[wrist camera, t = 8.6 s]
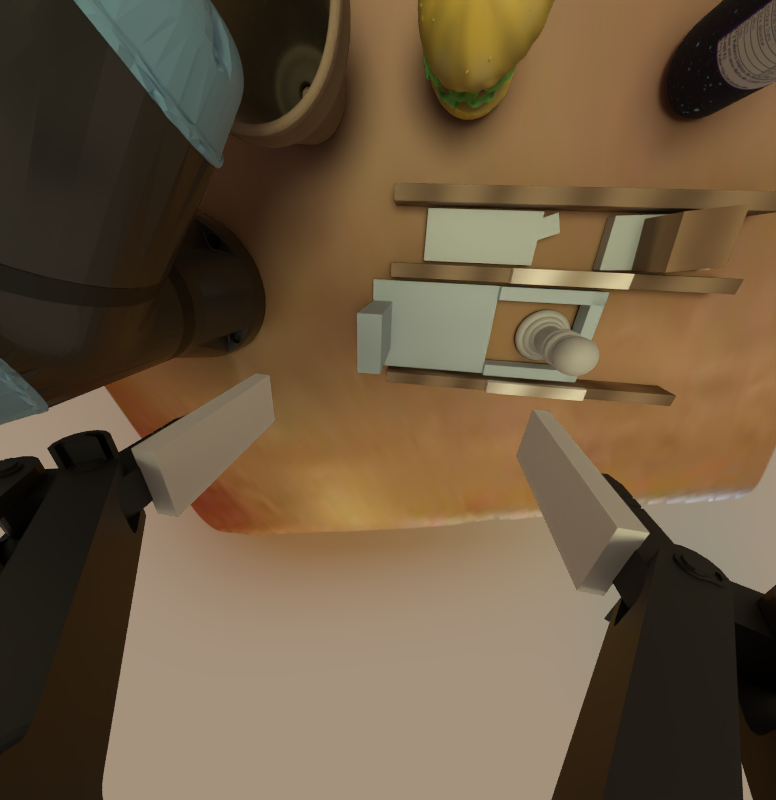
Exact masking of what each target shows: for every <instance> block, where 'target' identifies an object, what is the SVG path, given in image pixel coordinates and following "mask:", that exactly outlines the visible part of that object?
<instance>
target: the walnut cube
mask: <svg viewBox="0 0 776 800" xmlns="http://www.w3.org/2000/svg"><path fill="white" fill-rule="evenodd" d="M749 206H750V204H743V205H734V206H726V207H717V208H709V209H701V210H692V211H684V212H679V213H673V214H668V215H663V216H657V217H652V218H647V219H645V221H644V224H643V228H642V232H641V236H640V239H639V243H638V247H637V251H636V254H635V258H634V262H633V266H632V269H631V271H644V272H663V273H666V272H677V271H688V270H699V269H710V268H722V267H725V266H726V264H727V261H728V259H729V256H730V254H731V251H732V249H733V246H734V244H735V241H736V239H737V236H738V234H739V231H740V229H741V226H742V224H743V221H744V219H745V216H746V214H747V211H748V209H749Z"/></svg>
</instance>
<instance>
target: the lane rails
mask: <svg viewBox="0 0 776 800" xmlns="http://www.w3.org/2000/svg"><path fill="white" fill-rule="evenodd" d="M394 201H395V203H396V205H402V206H435V207H469V208H503V209H537V210H570V211H604V212H638V213H671V214H673V213H679V212H684V211H692V210H701V209H709V208H717V207H726V206H734V205H743V204H750V206H749V209H748V211H747V214H746V216H752V215H759V214H766V213H774V212H776V191H736V190H692V189H647V188H603V187H559V186H514V185H470V184H426V183H395V191H394ZM391 276H392V277H411V278H430V279H449V280H468V281H487V282H506V283H513V284H532V285H551V286H570V287H590V288H609V289H640V290H659V291H678V292H697V293H716V294H735V293H736V292H737V290H738V288H739V287H740V285H741V283H742V281H743V280H744V279H729V278H712V277H691V276H670V275H649V274H628V273H607V272H586V271H565V270H544V269H523V268H502V267H481V266H461V265H440V264H419V263H398V262H392V263H391ZM386 382H396V383H408V384H419V385H431V386H443V387H454V388H466V389H477V390H485V392H486V393H496V394H508V395H519V396H531V397H542V398H554V399H565V400H577V401H583V399H594V400H606V401H617V402H629V403H640V404H652V405H664V406H670V405H671V404H672V402H673V400H674V398H675V397H676V396H675V395H674V394H672V393H670V392H668V391H666V390H664V389H662V388H661V387H659V386H652V385H640V384H627V383H615V382H602V381H590V380H577V379H576V381H575V382H562V381H550V380H538V379H525V378H513V377H501V376H488V375H483V374H482V373H475V372H463V371H450V370H438V369H425V368H413V367H401V366H389V367H388V370H387V380H386Z"/></svg>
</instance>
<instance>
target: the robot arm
mask: <svg viewBox="0 0 776 800" xmlns="http://www.w3.org/2000/svg"><path fill="white" fill-rule="evenodd" d="M243 88H244V77H243V69H242V64H241V60H240V56H239V53H238V50H237V47H236V45H235V42H234V40H233V38H232V36H231V34H230V32H229V30H228V28H227V26H226V24H225V23H224V21H223V19H222V18H221V16H220V14H219V13H218V11H217V10H216V8H215V7H214V5H213V4H212V2H211V1H210V0H0V425H1V424H4V423H7V422H11V421H14V420H18V419H21V418H24V417H28V416H31V415H34V414H40V413H43V412H46V411H48V410H49V409H48V408H50V407H52V406H55V405H57V404H60V403H62V402H65V401H67V400H70V399H72V398H75V397H77V396H80V395H82V394H85V393H87V392H90V391H92V390H95V389H97V388H100V387H102V386H105V385H107V384H110V383H112V382H115V381H118V380H120V379H123V378H125V377H128V376H130V375H133V374H135V373H138V372H140V371H143V370H145V369H148V368H150V367H153V366H155V365H158V364H160V363H162V362H165V361H167V360H170V359H173V358H192V357H218V356H223V355H227V354H229V353H232V352H234V351H236V350H238V349H240V348H242V347H244V346H245V345H247V344H248V343H249V342H251V341H252V340H253V338H254V337H255V336H256V334H257V333H258V331H259V329H260V327H261V325H262V322H263V318H264V312H265V296H264V289H263V285H262V281H261V278H260V275H259V272H258V270H257V267H256V265H255V263H254V261H253V259H252V258H251V256H250V254H249V253H248V251H247V250H246V248H245V247H244V246H243V244H242V243H241V242H240V241H239V240H238V238H237V237H236V236H235V235H234V234H233V233H232V232H231V231H230V230H228V229H227V228H226V227H225V226H224V225H222V224H221V223H219V222H218V221H216V220H215V219H213V218H211V217H209V216H207V215H205V214H203V213H200V212H197V211H196V210H197V208H198V206H199V204H200V201H201V199H202V197H203V195H204V192H205V190H206V188H207V186H208V183H209V181H210V179H211V177H212V175H213V172H214V170H215V168H221V166H222V165H223V162H224V159H223V155H222V152H223V149H224V147H225V144H226V141H227V138H228V136H229V133H230V130H231V127H232V125H233V122H234V119H235V116H236V114H237V111H238V108H239V105H240V103H241V99H242V95H243ZM274 422H275V416H274V408H273V400H272V392H271V384H270V376H269V375H264V374H256V373H255V374H254V375H252V376H250V377H249V378H247V379H245V380H244V381H242V382H240V383H239V384H237V385H236V386H234V387H232V388H231V389H229V390H227V391H226V392H224V393H222V394H221V395H219V396H217V397H216V398H214V399H212V400H211V401H209V402H207V403H206V404H204V405H202V406H201V407H199V408H197V409H196V410H194V411H192V412H191V413H189V414H187V415H185V416H182V417H180V418H177V419H174V420H173V421H171V422H169V423H168V424H166V425H164V426H163V428H159V429H158V430H156V431H154V433H153V434H152V433H151V434H149V435H147V436H146V437H144V438H142V439H141V440H139V441H137V442H136V443H134V444H132V445H131V446H129V447H127V448H125V449H124V450H122V451H120V452H118V450H117V448H116V445H115V443H114V441H113V439H112V436H111V434H110V433H109V432H107V431H102V430H94V431H85V432H81V433H77V434H73V435H70V436H67V437H65V438H62V439H60V440H58V441H56V442H55V443H53V444H52V445H51V446H49V447H48V450H49V452H50V454H51V456H52V457H53V459H54V461H55V463H56V464H57V466H58V468H57V469H45V468H44V467H43V465H42V464H41V462H40V460H39V459H38V458H36V457H33V456H23V457H17V458H9V459H5V460H4V461H3V460H1V461H0V527H1V528H2V529H3V531H4V532H5V534H4V535H3V536H2V537H1V538H0V800H103V797H102V781H103V773H104V767H105V760H106V754H107V749H108V742H109V736H110V730H111V724H112V717H113V712H114V706H115V700H116V694H117V688H118V682H119V676H120V670H121V664H122V658H123V651H124V645H125V640H126V633H127V628H128V621H129V616H130V610H131V604H132V598H133V591H134V586H135V580H136V573H137V567H138V562H139V556H140V549H141V543H142V537H143V531H144V525H145V519H146V514H145V511H144V509H143V508H144V507H145V506H147V505H148V504H149V503H150V502H151V501H153V503H154V505H155V508H156V510H157V513H159V514H165V515H170V516H176V517H178V516H179V515H180V514H181V513H182V512H183V511H184V510H185V509H186V508H187V507H188V506H189V505H190V504H191V503H193V502H194V501H195V500H196V499H197V498H198V497H199V496H200V495H201V494H202V493H203V492H204V491H205V490H206V489H207V488H208V487H209V486H210V485H211V484H212V483H213V482H214V481H215V480H216V479H217V478H218V477H219V476H220V475H221V474H222V473H223V472H224V471H225V470H226V469H227V468H228V467H229V466H230V465H231V464H232V463H233V462H234V461H235V460H236V459H237V458H238V457H239V456H240V455H241V454H242V453H243V452H244V451H245V450H246V449H247V448H248V447H249V446H250V445H251V444H252V443H253V442H254V441H255V440H256V439H257V438H258V437H259V436H260V435H262V434H263V433H264V432H265V431H266V430H267V429H268V428H269V427H270V426H271V425H272V424H273V423H274ZM516 456H517V459H518V461H519V463H520V465H521V468H522V470H523V472H524V474H525V476H526V479H527V481H528V483H529V485H530V488H531V490H532V492H533V494H534V496H535V499H536V501H537V503H538V505H539V508H540V510H541V512H542V514H543V516H544V519H545V520H546V523H547V525H548V527H549V530H550V532H551V534H552V536H553V539H554V541H555V543H556V545H557V547H558V550H559V552H560V554H561V556H562V559H563V561H564V563H565V565H566V567H567V570H568V572H569V574H570V576H571V578H572V580H573V583H574V585H575V587H576V590H577V591H582V592H587V593H592V594H598V595H605V593H606V592H607V591H608V589H609V588H610V586H611V585H612V584H614V585H615V587H616V589H617V591H618V592H619V594H620V596H621V598H620V599H619V600H618V602H617V603H616V604H615V606H614V607H613V608H612V609H611V611H610V612H609V613H608V614H607V616H606V617H605V619H606V620H607V621H610V623H609V626H608V629H607V632H606V635H605V638H604V641H603V644H602V647H601V650H600V653H599V657H598V660H597V663H596V665H595V669H594V672H593V675H592V678H591V681H590V684H589V687H588V690H587V693H586V696H585V699H584V702H583V705H582V708H581V711H580V714H579V718H578V720H577V724H576V727H575V729H574V733H573V736H572V739H571V742H570V745H569V748H568V751H567V754H566V757H565V760H564V763H563V766H562V769H561V772H560V776H559V778H558V781H557V784H556V787H555V791H554V794H553V797H552V800H743V787H742V768H741V762H742V765H743V768H744V772H745V775H746V778H747V782H748V785H749V788H750V792H751V795H752V798H753V800H776V585H775V586H774V587H773V588H772V589H771V590H769V591H768V592H767V593H766V594H763V593H760V592H757V591H755V590H752V589H750V588H747V587H744V586H742V585H739V584H737V583H734V582H731V581H730V580H729V579H728V578H727V577H726V576H725V574H724V573H723V572H722V571H721V570H720V569H719V568H718V567H717V566H715V565H714V564H713V563H712V562H710V561H709V560H708V559H706V558H705V557H703V556H701V555H700V554H698V553H697V552H695V551H693V550H690V549H688V548H686V547H683V546H681V545H676V544H674V543H673V542H672V541H671V540H670V539H669V537H668V536H667V535H666V534H665V533H664V532H663V531H662V529H661V528H660V527H659V526H658V525H657V524H656V523H655V522H654V520H653V519H652V518H651V517H650V516H649V515H648V514H647V512H646V511H645V510H644V509H641V506H640V504H639V503H638V502H637V501H636V500H635V499H633V498H632V497H633V496H632V495H631V494H630V493H629V492H628V491H627V490H626V488H625V487H624V486H623V485H622V484H620V483H619V482H618V481H616V480H615V479H614V478H612V477H611V476H609V475H608V474H602V473H600V472H599V471H598V469H597V468H596V467H595V466H594V465H593V463H592V462H591V461H590V460H589V458H588V457H587V456H586V455H585V454H584V452H583V451H582V450H581V449H580V447H579V446H578V445H577V444H576V443H575V441H574V440H573V439H572V438H571V437H570V435H569V434H568V433H567V432H566V430H565V429H564V428H563V427H562V426H561V424H560V423H559V422H558V421H557V420H556V418H555V417H554V416H553V415H552V413H551V412H550V411H544V410H536V409H533V410H532V413H531V416H530V418H529V421H528V424H527V427H526V430H525V433H524V435H523V438H522V441H521V444H520V447H519V450H518V452H517V455H516Z"/></svg>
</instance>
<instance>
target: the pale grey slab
mask: <svg viewBox="0 0 776 800" xmlns="http://www.w3.org/2000/svg"><path fill="white" fill-rule="evenodd" d="M609 293H610V292H604V291H598V290H579V289H561V288H542V287H523V286H504V285H486V284H467V283H448V282H429V281H411V280H392V279H374V290H373V301H372V302H371V303H369V304H368V305H367V306H365V307H364V308H363V309H362V310H360V311H359V312H358V313H357V372H358V373H370V374H381V371H382V369H383V366H384V365H388V366H401V367H413V368H425V369H438V370H450V371H463V372H475V373H482V374H483V375H488V376H501V377H513V378H525V379H538V380H550V381H562V382H575V381H576V379H577V376H568V375H565V374H562V373H561V372H559V371H558V370H556V368H555V367H554V366H552V365H549V364H536V363H523V362H510V361H497V360H485V357H486V352H487V347H488V342H489V338H490V333H491V328H492V324H493V319H494V314H495V309H496V305H497V300H507V301H525V302H542V303H559V304H576V305H580V308H579V311H578V314H577V316H576V319H575V322H574V325H573V328H572V331H574V332H577V333H578V334H580V335H581V336H582V337H585V338H587V339H589V340H592V337H593V335H594V332H595V329H596V327H597V324H598V321H599V319H600V316H601V314H602V311H603V308H604V306H605V303H606V301H607V298H608V295H609Z"/></svg>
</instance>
